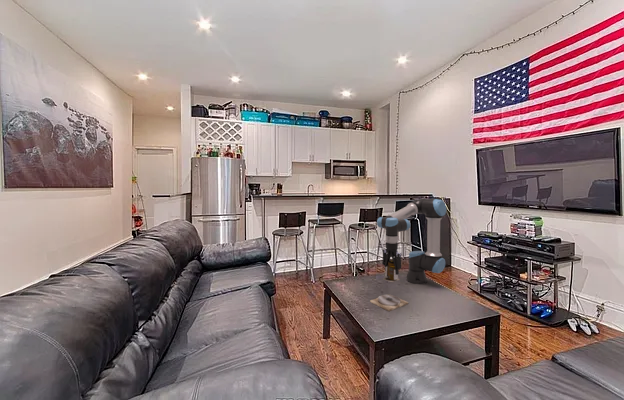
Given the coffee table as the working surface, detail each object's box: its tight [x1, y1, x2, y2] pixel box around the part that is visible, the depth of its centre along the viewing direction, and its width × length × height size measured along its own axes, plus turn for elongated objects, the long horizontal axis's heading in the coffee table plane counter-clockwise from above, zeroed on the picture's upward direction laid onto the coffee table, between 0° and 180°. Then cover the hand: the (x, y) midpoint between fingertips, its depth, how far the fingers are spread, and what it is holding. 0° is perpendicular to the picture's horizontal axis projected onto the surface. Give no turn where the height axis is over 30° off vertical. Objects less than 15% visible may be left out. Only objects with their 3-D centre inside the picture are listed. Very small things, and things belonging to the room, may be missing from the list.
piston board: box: [369, 293, 409, 312], centre depth 183 cm, size 18×16×3 cm
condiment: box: [383, 259, 401, 283], centre depth 181 cm, size 7×8×12 cm
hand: (391, 277), depth 181 cm, fingers closed on condiment, 6 cm apart
